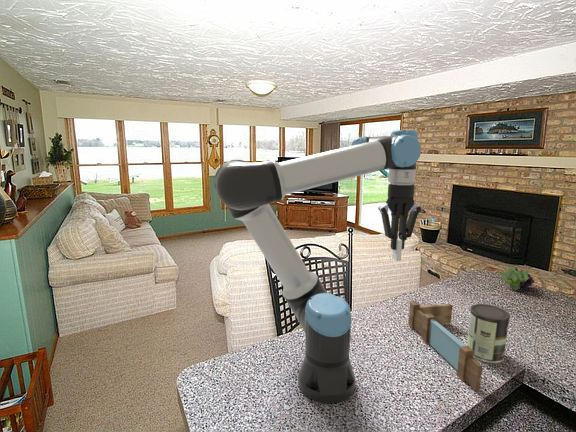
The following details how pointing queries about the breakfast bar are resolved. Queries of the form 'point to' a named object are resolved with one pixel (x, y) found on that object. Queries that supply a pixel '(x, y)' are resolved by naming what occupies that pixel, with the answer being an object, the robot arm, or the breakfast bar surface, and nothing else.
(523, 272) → the green and purple plant
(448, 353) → the light blue flat block
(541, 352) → the breakfast bar surface
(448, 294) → the breakfast bar surface
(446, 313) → the fence
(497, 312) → the coffee can
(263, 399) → the breakfast bar surface
